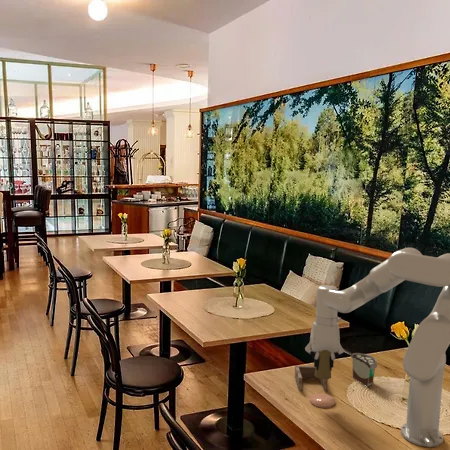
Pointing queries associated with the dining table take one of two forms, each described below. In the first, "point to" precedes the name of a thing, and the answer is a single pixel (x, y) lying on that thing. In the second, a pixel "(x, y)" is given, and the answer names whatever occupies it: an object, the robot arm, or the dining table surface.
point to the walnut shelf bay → (307, 376)
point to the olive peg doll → (323, 365)
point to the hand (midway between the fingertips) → (323, 368)
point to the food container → (364, 368)
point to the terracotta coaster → (322, 400)
